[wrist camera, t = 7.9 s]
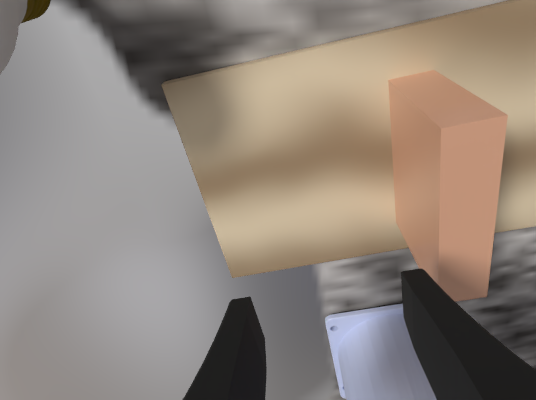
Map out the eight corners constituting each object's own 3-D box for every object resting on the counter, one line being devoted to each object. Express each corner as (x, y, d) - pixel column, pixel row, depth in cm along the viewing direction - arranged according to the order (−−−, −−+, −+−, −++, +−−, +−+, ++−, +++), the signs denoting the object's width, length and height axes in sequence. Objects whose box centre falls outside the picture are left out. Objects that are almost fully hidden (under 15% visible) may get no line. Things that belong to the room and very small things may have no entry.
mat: (535, 218, 22) (542, 224, 21) (233, 271, 24) (232, 277, 23) (578, -16, 16) (588, -16, 15) (164, 81, 18) (161, 84, 17)
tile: (432, 215, 21) (487, 296, 16) (396, 222, 21) (437, 304, 16) (433, 69, 17) (507, 114, 12) (388, 80, 17) (441, 128, 12)
